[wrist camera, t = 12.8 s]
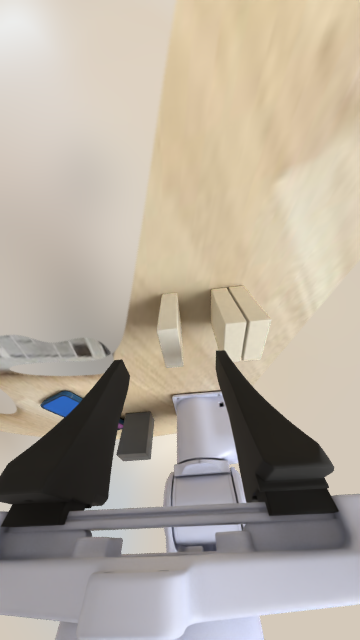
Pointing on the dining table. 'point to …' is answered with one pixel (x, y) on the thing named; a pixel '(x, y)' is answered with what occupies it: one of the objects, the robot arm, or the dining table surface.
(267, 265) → the dining table surface
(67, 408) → the smartphone
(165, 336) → the white book
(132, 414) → the dark gray block
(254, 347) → the cream upright block
